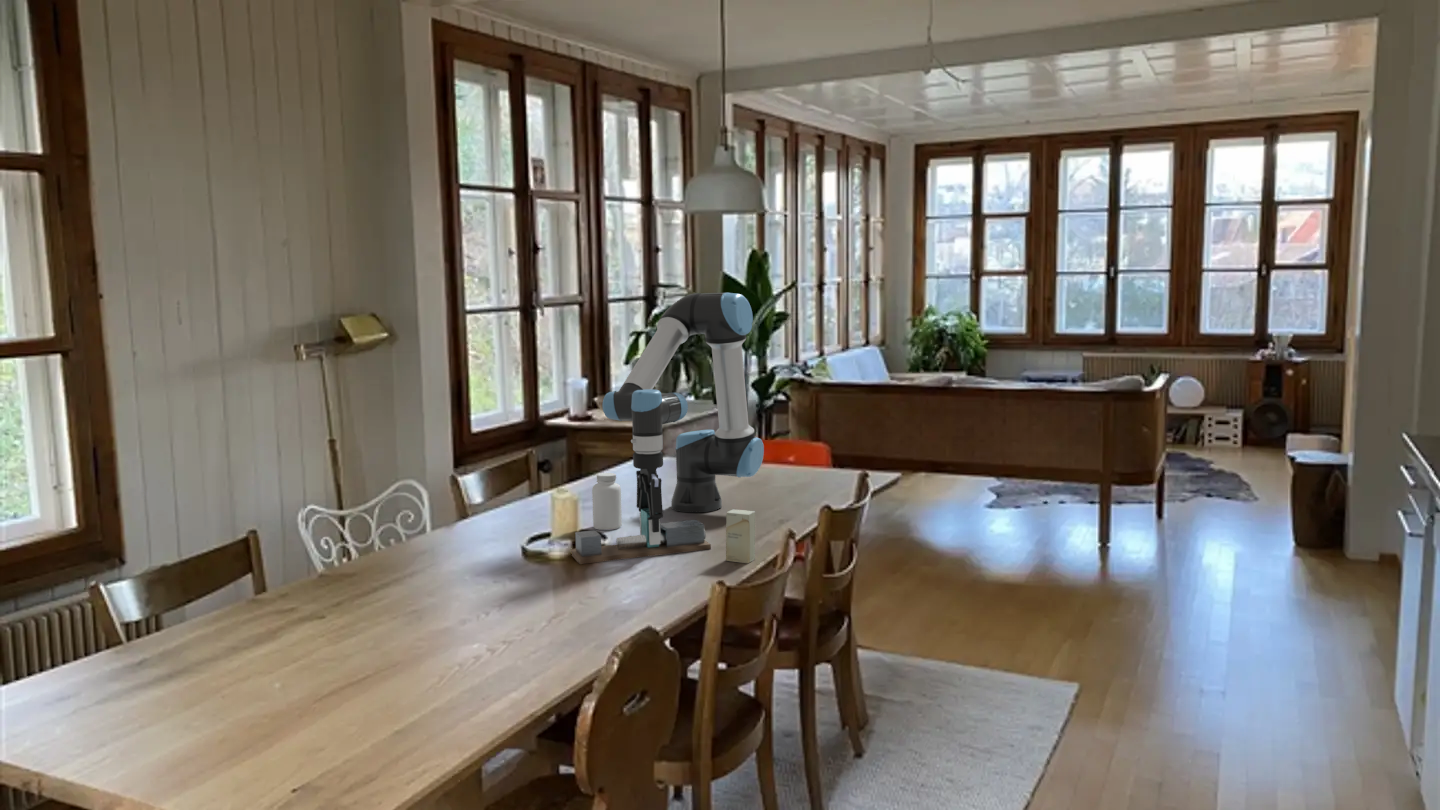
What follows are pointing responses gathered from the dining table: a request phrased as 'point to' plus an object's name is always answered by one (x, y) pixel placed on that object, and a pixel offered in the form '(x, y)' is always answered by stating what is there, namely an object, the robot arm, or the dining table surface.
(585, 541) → the grey cube
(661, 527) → the sleeve
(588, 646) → the dining table surface
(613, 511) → the pill bottle
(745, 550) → the skincare box
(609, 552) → the board
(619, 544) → the sliding bolt
